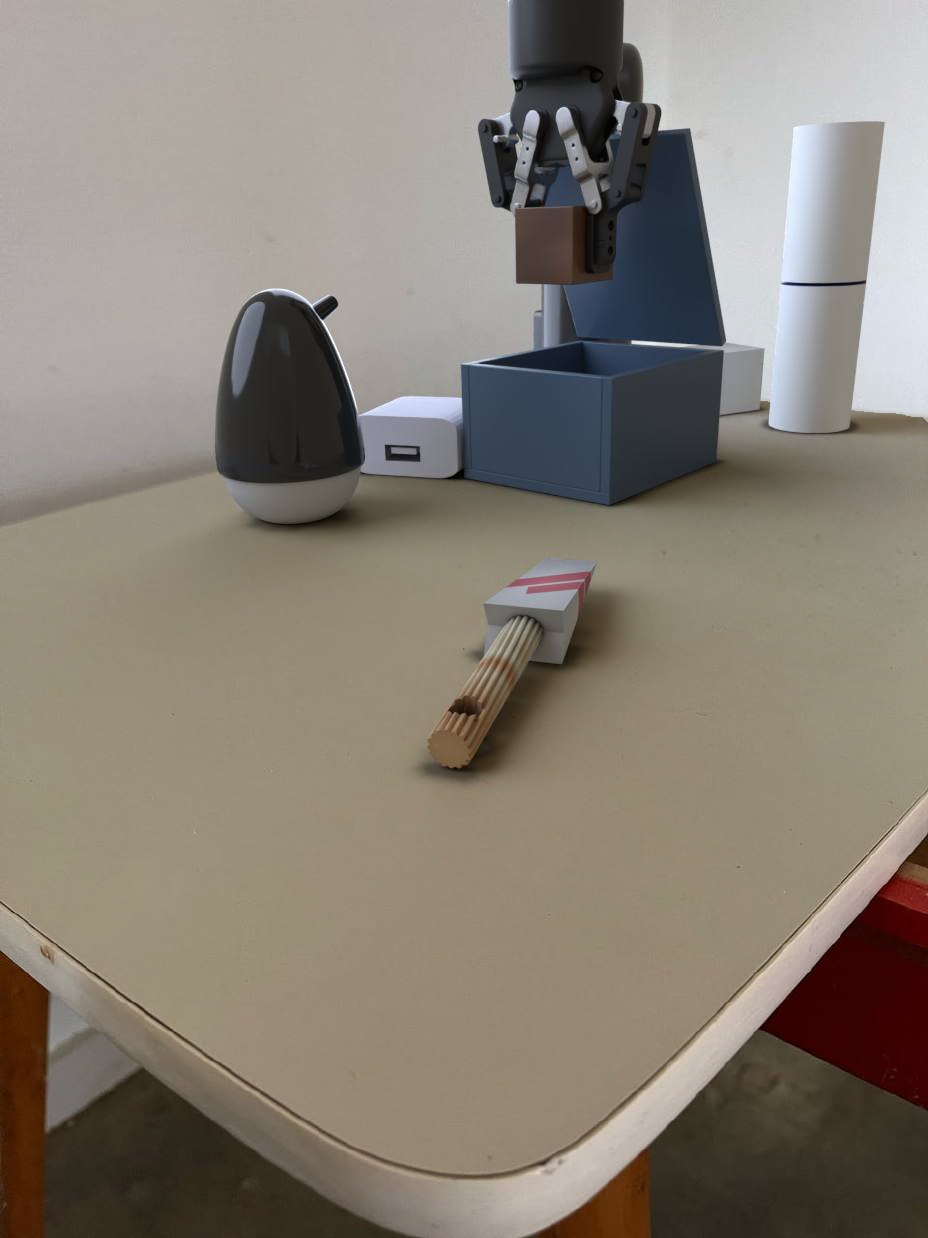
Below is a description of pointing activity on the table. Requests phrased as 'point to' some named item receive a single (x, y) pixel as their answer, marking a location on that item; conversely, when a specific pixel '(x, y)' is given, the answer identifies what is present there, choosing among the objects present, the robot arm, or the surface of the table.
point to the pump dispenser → (286, 412)
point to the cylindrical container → (824, 274)
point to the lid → (653, 257)
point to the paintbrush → (512, 650)
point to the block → (552, 246)
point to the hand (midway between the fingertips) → (564, 271)
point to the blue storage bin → (591, 417)
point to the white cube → (740, 377)
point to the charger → (414, 437)
